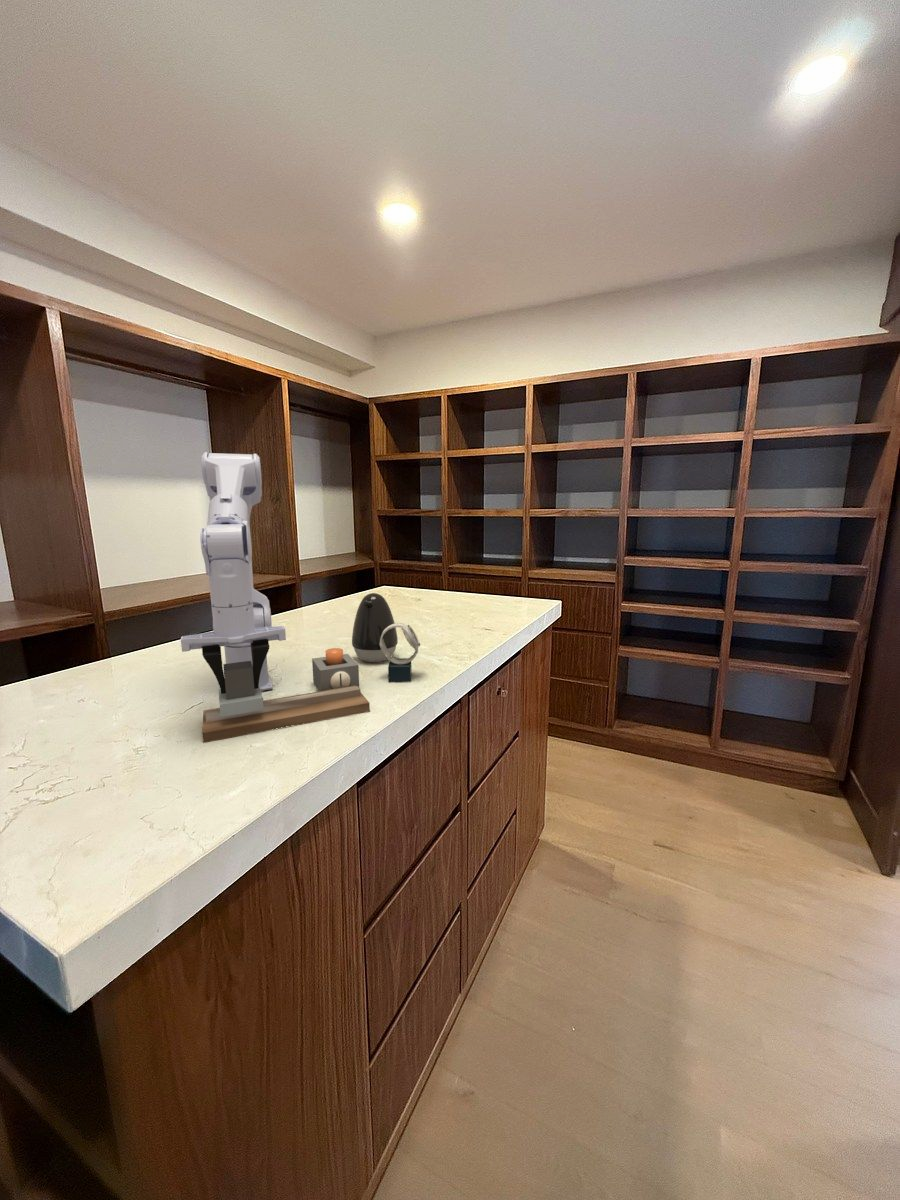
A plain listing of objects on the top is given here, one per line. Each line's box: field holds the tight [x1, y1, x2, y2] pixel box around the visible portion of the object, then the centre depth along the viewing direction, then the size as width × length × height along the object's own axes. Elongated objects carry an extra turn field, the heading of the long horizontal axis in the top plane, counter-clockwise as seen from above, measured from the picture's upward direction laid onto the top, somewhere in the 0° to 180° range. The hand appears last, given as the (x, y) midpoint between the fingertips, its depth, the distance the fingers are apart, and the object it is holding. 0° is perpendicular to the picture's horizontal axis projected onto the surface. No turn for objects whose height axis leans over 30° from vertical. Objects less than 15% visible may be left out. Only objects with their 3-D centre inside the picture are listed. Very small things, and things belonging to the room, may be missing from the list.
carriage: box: [218, 661, 264, 717], centre depth 75 cm, size 7×6×6 cm
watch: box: [380, 622, 421, 683], centre depth 96 cm, size 6×8×11 cm
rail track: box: [201, 686, 371, 744], centre depth 79 cm, size 9×25×3 cm, turn 116°
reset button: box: [324, 647, 344, 665], centre depth 91 cm, size 3×3×2 cm
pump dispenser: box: [351, 592, 399, 663], centre depth 108 cm, size 10×10×15 cm
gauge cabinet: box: [311, 653, 360, 692], centre depth 91 cm, size 8×7×5 cm
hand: (239, 689), depth 75 cm, fingers closed on carriage, 4 cm apart
